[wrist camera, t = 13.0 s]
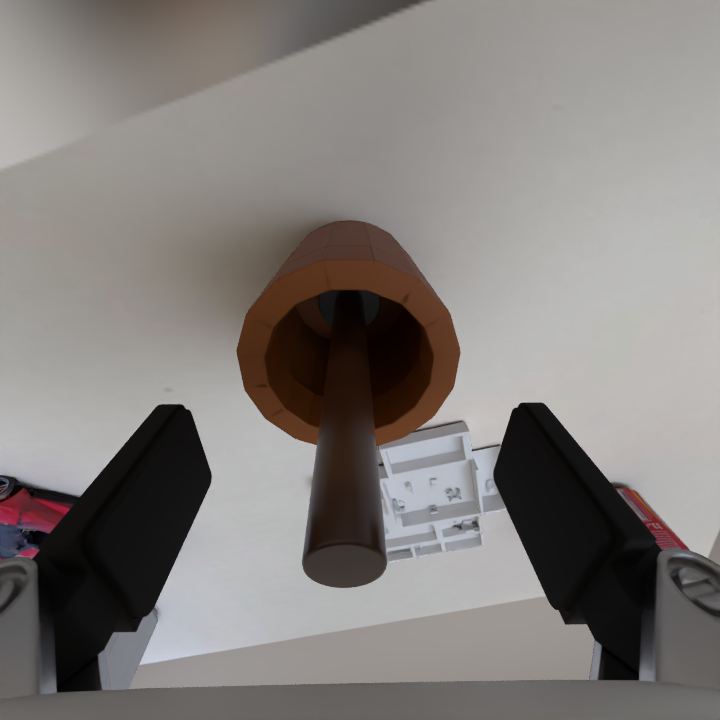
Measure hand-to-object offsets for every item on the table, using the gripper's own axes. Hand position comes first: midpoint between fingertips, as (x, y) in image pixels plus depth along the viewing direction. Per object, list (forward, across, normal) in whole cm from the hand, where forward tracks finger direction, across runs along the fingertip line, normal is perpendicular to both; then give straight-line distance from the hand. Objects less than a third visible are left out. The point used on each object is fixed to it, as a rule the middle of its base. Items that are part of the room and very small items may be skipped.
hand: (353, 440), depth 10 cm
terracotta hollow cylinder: (+15, 0, 0) cm, 15 cm away
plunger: (+15, 0, 0) cm, 15 cm away
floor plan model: (+15, -6, +20) cm, 26 cm away
